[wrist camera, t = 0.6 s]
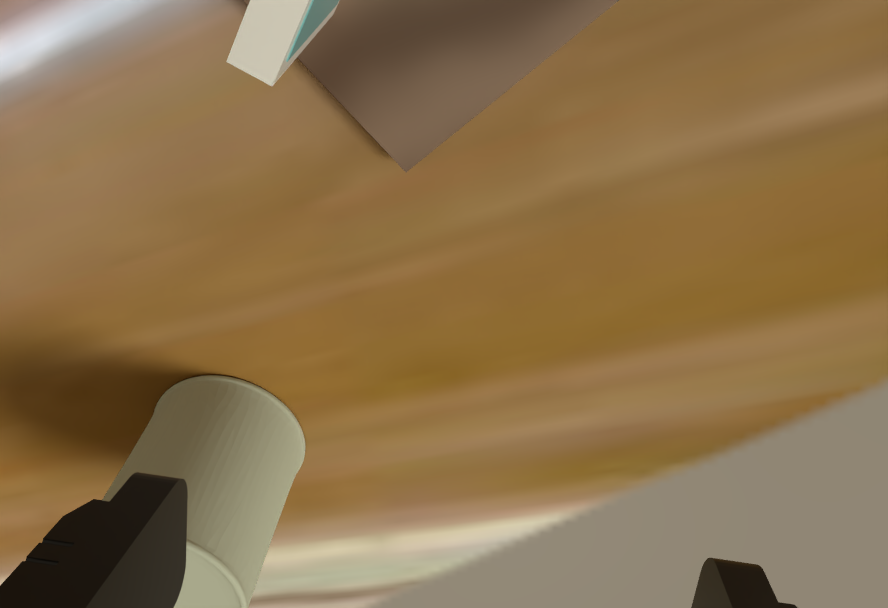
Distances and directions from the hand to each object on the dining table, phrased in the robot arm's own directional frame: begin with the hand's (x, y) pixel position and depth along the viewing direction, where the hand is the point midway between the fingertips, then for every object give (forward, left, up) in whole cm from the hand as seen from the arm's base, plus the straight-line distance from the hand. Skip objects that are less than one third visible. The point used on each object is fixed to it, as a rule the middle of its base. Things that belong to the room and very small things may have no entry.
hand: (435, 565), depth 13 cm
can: (+7, -27, -28) cm, 40 cm away
